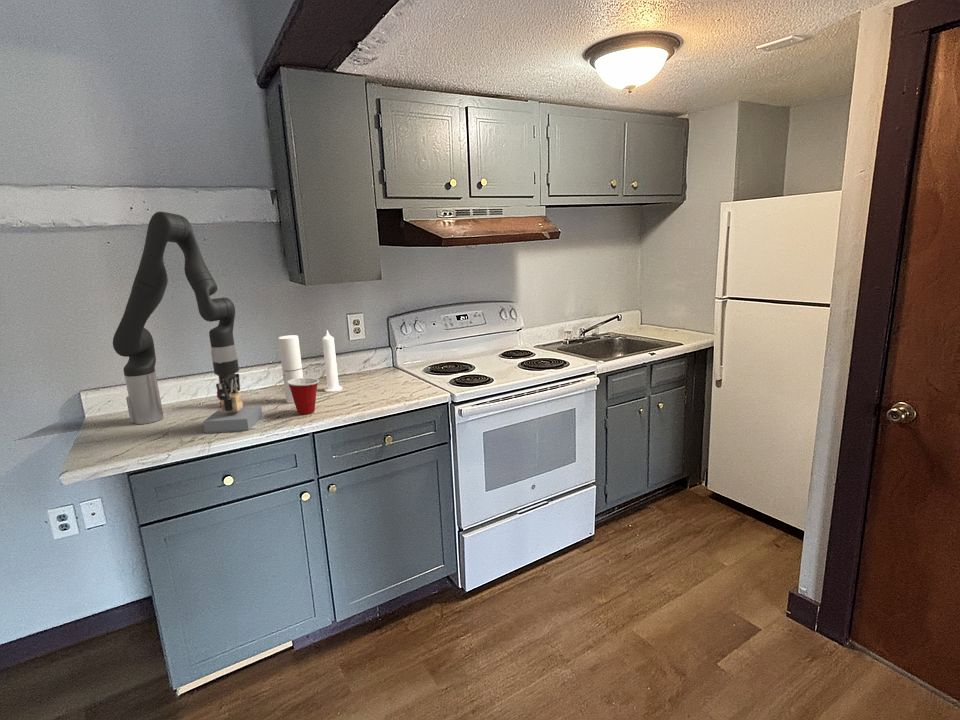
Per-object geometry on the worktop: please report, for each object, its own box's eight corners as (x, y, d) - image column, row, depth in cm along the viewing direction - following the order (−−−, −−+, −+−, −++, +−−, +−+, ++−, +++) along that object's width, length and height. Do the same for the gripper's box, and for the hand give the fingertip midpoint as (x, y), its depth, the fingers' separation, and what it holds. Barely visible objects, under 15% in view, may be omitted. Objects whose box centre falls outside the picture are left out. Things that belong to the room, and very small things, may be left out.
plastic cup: (326, 413, 190) (322, 380, 188) (294, 419, 185) (290, 385, 182) (318, 405, 199) (314, 374, 197) (288, 411, 194) (284, 379, 191)
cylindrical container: (297, 403, 203) (289, 339, 197) (282, 402, 205) (274, 338, 199) (309, 398, 209) (302, 335, 204) (294, 397, 212) (286, 334, 206)
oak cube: (222, 412, 178) (220, 398, 177) (228, 407, 183) (225, 393, 182) (237, 411, 179) (235, 397, 177) (242, 406, 183) (240, 392, 182)
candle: (345, 387, 222) (339, 328, 216) (337, 392, 215) (330, 331, 210) (329, 387, 224) (323, 328, 218) (321, 392, 217) (314, 331, 211)
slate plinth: (205, 433, 175) (203, 421, 174) (222, 419, 188) (220, 408, 187) (248, 430, 176) (247, 418, 175) (262, 416, 189) (261, 405, 188)
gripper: (221, 354, 184) (229, 402, 187) (203, 364, 170) (212, 415, 173) (244, 353, 184) (251, 400, 188) (228, 363, 170) (235, 414, 174)
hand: (232, 407), depth 181 cm, fingers closed on oak cube, 5 cm apart
